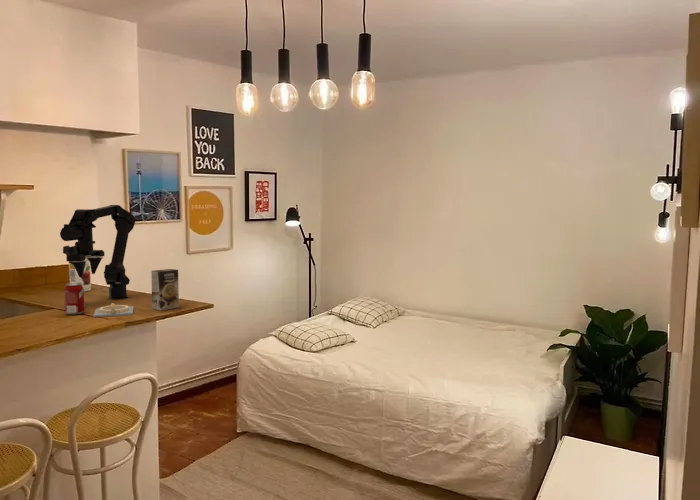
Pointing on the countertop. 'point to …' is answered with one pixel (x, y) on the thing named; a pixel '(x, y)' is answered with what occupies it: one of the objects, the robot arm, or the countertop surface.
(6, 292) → the countertop surface
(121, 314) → the flange board
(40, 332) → the countertop surface
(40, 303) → the countertop surface
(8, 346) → the countertop surface
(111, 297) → the robot arm
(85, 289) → the juice carton
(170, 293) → the cookie box
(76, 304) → the soda can
